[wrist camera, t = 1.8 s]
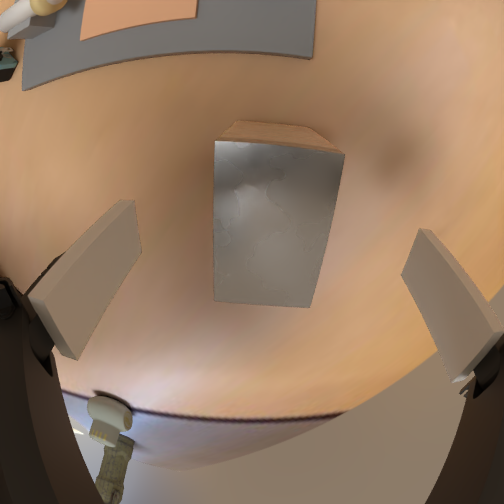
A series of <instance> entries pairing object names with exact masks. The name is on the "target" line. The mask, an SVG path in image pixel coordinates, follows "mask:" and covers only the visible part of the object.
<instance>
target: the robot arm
mask: <svg viewBox="0 0 504 504" xmlns="http://www.w3.org/2000/svg"><path fill="white" fill-rule="evenodd" d="M141 253H142V249H141V243H140V237H139V231H138V224H137V217H136V209H135V201H134V200H119V201H118V202H117V203H116V204H115V205H114V206H113V207H111V208H110V209H109V210H108V211H107V212H106V213H105V214H104V215H103V216H102V217H100V218H99V219H98V220H97V221H96V222H95V223H94V224H93V225H92V226H91V227H90V228H89V229H88V230H87V231H86V232H85V233H84V234H83V235H82V236H81V237H80V238H79V239H78V240H77V241H76V242H75V243H74V244H73V245H72V246H71V247H70V248H69V249H68V250H67V251H66V252H64V253H63V254H61V255H60V256H58V257H57V258H55V259H54V260H53V261H52V262H51V263H50V265H49V266H48V267H47V269H45V270H44V271H43V272H42V273H41V276H39V277H38V278H37V279H36V280H35V282H34V283H33V284H32V285H31V286H30V288H29V289H28V290H27V291H26V292H25V294H24V295H23V296H22V295H21V294H20V293H19V292H18V291H17V290H16V289H15V287H14V285H13V283H12V281H11V280H10V279H9V278H5V277H4V278H1V277H0V504H105V503H104V501H103V499H102V497H101V495H100V494H99V492H98V490H97V488H96V486H95V484H94V482H93V479H92V477H91V475H90V473H89V471H88V468H87V466H86V464H85V461H84V459H83V456H82V454H81V452H80V449H79V446H78V444H77V441H76V438H75V435H74V432H73V429H72V426H71V423H70V420H69V417H68V413H67V410H66V406H65V403H64V399H63V395H62V391H61V387H60V382H59V378H58V373H57V368H56V363H55V357H54V355H53V353H52V351H51V350H52V348H53V347H54V345H56V347H57V348H58V350H59V351H60V353H61V354H62V355H63V356H66V357H69V358H71V359H74V360H77V361H78V359H79V357H80V355H81V354H82V352H83V350H84V348H85V346H86V344H87V342H88V340H89V338H90V337H91V335H92V333H93V331H94V329H95V327H96V326H97V324H98V322H99V320H100V319H101V317H102V315H103V313H104V312H105V310H106V308H107V307H108V305H109V303H110V302H111V300H112V298H113V297H114V295H115V293H116V292H117V290H118V288H119V287H120V285H121V284H122V282H123V280H124V279H125V277H126V276H127V274H128V273H129V271H130V270H131V268H132V266H133V265H134V263H135V262H136V260H137V259H138V257H139V256H140V254H141ZM401 276H402V278H403V280H404V282H405V284H406V285H407V287H408V289H409V291H410V293H411V295H412V297H413V298H414V300H415V302H416V304H417V306H418V308H419V310H420V312H421V314H422V316H423V318H424V320H425V322H426V325H427V327H428V329H429V331H430V333H431V335H432V337H433V340H434V342H435V344H436V347H437V349H438V351H439V353H440V356H441V358H442V361H443V363H444V366H445V368H446V371H447V373H448V376H449V378H450V381H451V383H453V382H458V381H461V380H464V379H465V378H466V377H467V376H468V375H469V374H470V373H471V372H472V371H474V373H475V376H474V377H473V378H472V380H471V381H469V382H468V384H467V385H465V386H464V387H463V388H462V389H461V391H460V393H459V394H462V393H463V392H464V391H465V390H468V392H467V393H466V394H465V395H464V397H466V402H465V406H464V410H463V413H462V417H461V420H460V423H459V426H458V430H457V432H456V436H455V438H454V441H453V444H452V446H451V449H450V452H449V454H448V457H447V459H446V462H445V464H444V466H443V469H442V471H441V473H440V476H439V477H438V480H437V482H436V484H435V486H434V488H433V490H432V492H431V493H430V495H429V497H428V499H427V501H426V503H425V504H504V327H503V326H502V324H501V323H500V321H499V319H498V317H497V316H496V314H495V313H494V312H493V310H492V308H491V307H490V305H489V304H488V302H487V301H486V299H485V298H484V296H483V295H482V293H481V292H480V290H479V289H478V288H477V286H476V285H475V284H474V282H473V281H472V279H471V278H470V277H469V275H468V274H467V273H466V272H465V270H464V269H463V268H462V266H461V265H460V264H459V263H458V261H457V260H456V259H455V258H454V256H453V255H452V254H451V253H450V252H449V250H448V249H447V248H446V247H445V246H444V245H443V243H442V242H441V241H440V240H439V239H438V238H437V237H436V235H435V234H434V233H433V232H432V231H431V230H426V229H421V228H419V230H418V233H417V236H416V238H415V241H414V244H413V246H412V249H411V252H410V254H409V257H408V259H407V261H406V264H405V266H404V269H403V271H402V273H401Z"/></svg>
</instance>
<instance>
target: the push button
mask: <svg viewBox="0 0 504 504" xmlns="http://www.w3.org/2000/svg"><path fill="white" fill-rule="evenodd" d="M7 49H10V50H7ZM9 52H13V49H12V48H10V47H6V48H4V47H0V82H4V81H9V79H10V77H11V75H12V73H13V71H14V69H15V67H16V65H17V63H18V62H17V60H15V59H14V58H13V57H12V56H11V54H10V53H9Z"/></svg>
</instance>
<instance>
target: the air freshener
mask: <svg viewBox="0 0 504 504" xmlns="http://www.w3.org/2000/svg"><path fill="white" fill-rule="evenodd" d="M87 410H88V413H89V415H90V417H91V418H92V419H93V423H92V426H91V429H90V432H89V436H90V438H92V439H94V440H95V441H97V442H99V443H101V444H104V445H106V446H109V447H115V446H116V443H117V440H118V436H119V433H120V432H124V431H128V430H130V429H131V427H132V421H133V420H132V413H131V411H130V410H129V409H128V408H127V407H126V406H125V405H124V404H122V403H121V402H118V401H116V400H114V399H112V398H109V397H105V396H95V397H92V398H90V399H89V401H88V404H87Z"/></svg>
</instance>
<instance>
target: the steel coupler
mask: <svg viewBox="0 0 504 504" xmlns="http://www.w3.org/2000/svg"><path fill="white" fill-rule="evenodd" d="M344 158H345V154H344V153H343V152H341V151H340V150H339V149H338V148H336V147H335V146H334V145H332V144H331V143H330V142H328V141H327V140H326V139H324V138H323V137H322V136H320V135H319V134H318V133H316V132H315V131H314V130H312V129H311V128H309V127H302V126H294V125H286V124H276V123H265V122H253V121H236V122H235V123H234V124H233V125H232V126H231V127H229V128H228V129H227V130H226V131H225V132H224V133H223V134H222V135H221V136H220V137H219V138H218V139H216V140H215V151H214V198H213V259H214V301H220V302H230V303H242V304H254V305H268V306H283V307H300V308H310V306H311V302H312V298H313V295H314V291H315V288H316V284H317V280H318V277H319V273H320V269H321V265H322V261H323V257H324V253H325V249H326V245H327V241H328V236H329V232H330V228H331V223H332V219H333V214H334V210H335V205H336V200H337V195H338V190H339V185H340V180H341V175H342V169H343V164H344Z"/></svg>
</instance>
